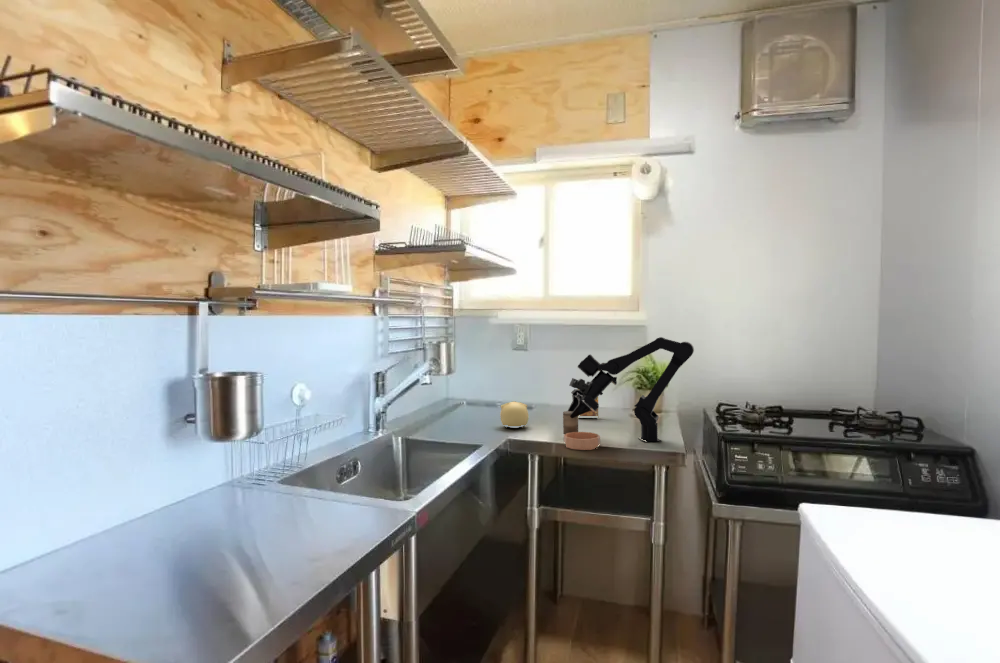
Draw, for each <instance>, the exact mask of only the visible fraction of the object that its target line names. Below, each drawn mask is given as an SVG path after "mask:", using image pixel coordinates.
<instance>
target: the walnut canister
mask: <svg viewBox="0 0 1000 663" xmlns="http://www.w3.org/2000/svg"><path fill="white" fill-rule="evenodd" d="M572 412H573V411H568V410H566V411H562V418H563V419H562V424H563V425H562V426H563V427H562V430H563V436H564V435H565V434H566V433H571V432H579V419H578V416H577V417H574V418H571V417H570V415H571V414H572Z"/></svg>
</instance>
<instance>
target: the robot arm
mask: <svg viewBox="0 0 1000 663" xmlns="http://www.w3.org/2000/svg"><path fill="white" fill-rule="evenodd" d="M658 350H664V351H666V352H670V353H672V356H671V358H670V362H669V364H668V365H667V366H666V368H665V369H664V371H663V372H662V374H661V375H660V376H659V378H658V380H657V381H656V383H655V384H654V385H653V387H652V388H651V390H650V392H649V393H648V394H647V395H646V396H645V395H644V394H642V395H641V396H640V397H639V399H638V402H636V403H635V405H634V407H635V408H634V411H633V412H634V415H635V418H637V419H638V420H639V423H640V431H641V433H640V437H641V439H643V440H646V441H661V442H662V439H660V438H659V437H658V436H659V434H658V428H659V427H658V425H659V424H658V420H659V416H660V415H658V414H657V412H655V411H654V410H655V407H656V406H657V405H656V404H657V402H658V400H659V398H660V396H661V395H662V394H663V392H664V391H665V389H666V388H667V386H668V385H669V383H670V381H671V380H672V379H673V377H674V376H675V374H676V373H677V372H678V370H679V369H680V368H681V367H682V366H683V365H684V364H685V363H686V362H687V361H688V360H689V359H690V358H691V356H693V354H694V352H695V349H694V346H693V344H692V343H691V342H689V341H682V342H679V341H675V340H672V339H669V338H665V337H662V336H660V337H657V338H656V339H655V340H652V341H650V342H649V343H646V344H645V345H643V346H641V347H639V348H637V349H635V350H633V351H631V352H629V353H627V354H624V355H621V356H618V357H614V358H612V359H609V360H607V362H601V363H600V362H599V361H598V360H597V359H596V358H595V357H594V356H593V355H592V354H587V356H586V357H585V358H584V359H583V360H581V361H580V362H579V364H578V365H577V369H579V370H580V371H581V372H582V373H584V374H585V375H586V377H587V378H589V377H592V378H593V379H592V380H590V381H586V380H585V379H583V378H579V379H576V378H574V377H572V378H571V381H570V383H569V387H572V388H573V390H572V391H571V396H572V401H571V403H570V405H569V407H568V410H567V411H573V412H572V414H571V415H570V417H571V418H574V417H577V416H579V415H581V414H584V413H586V412H589V411H592V410H591V408H592V409H593V410H594V411H596V410H597V409H598V410H599V407H600V406H599V405H600V404H599V402H598V403H597V402H596V401H595V399H596V398H597V397H598V398H599V396H602V395H603V394H604V393H603V392H604V391H605V390H606V388H608V387H609V386H610V385H611V383H612V384H613V385H614V386H616V385H617V383H618V381H617V379H618V377H617V376H615V375H618V374H620V373H621V372H623V371H624V370H626V369H627V368H628V367H630V366H631V365H632V364H634V363H635V362H637V361H639V360H641V359H643V358H645V357H647V356H650V355H651V354H652V353H655V352H657V351H658ZM578 389H579V390H578Z"/></svg>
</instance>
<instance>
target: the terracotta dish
mask: <svg viewBox="0 0 1000 663" xmlns="http://www.w3.org/2000/svg"><path fill="white" fill-rule="evenodd" d="M564 442H565V444H566V447H565V448H567V449H571V450H581V451H586V450H587V451H591V450H596V449H597V448H596V447H597V446H598V445H599V444H600V445H601V435H599V434H598V433H594V432H588V431H578V432H571V433H566V434H565V435H564V434H563V443H564ZM595 448H596V449H595Z"/></svg>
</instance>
